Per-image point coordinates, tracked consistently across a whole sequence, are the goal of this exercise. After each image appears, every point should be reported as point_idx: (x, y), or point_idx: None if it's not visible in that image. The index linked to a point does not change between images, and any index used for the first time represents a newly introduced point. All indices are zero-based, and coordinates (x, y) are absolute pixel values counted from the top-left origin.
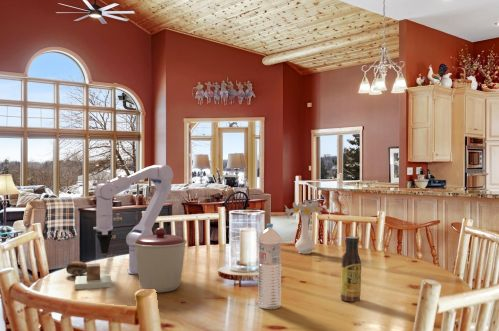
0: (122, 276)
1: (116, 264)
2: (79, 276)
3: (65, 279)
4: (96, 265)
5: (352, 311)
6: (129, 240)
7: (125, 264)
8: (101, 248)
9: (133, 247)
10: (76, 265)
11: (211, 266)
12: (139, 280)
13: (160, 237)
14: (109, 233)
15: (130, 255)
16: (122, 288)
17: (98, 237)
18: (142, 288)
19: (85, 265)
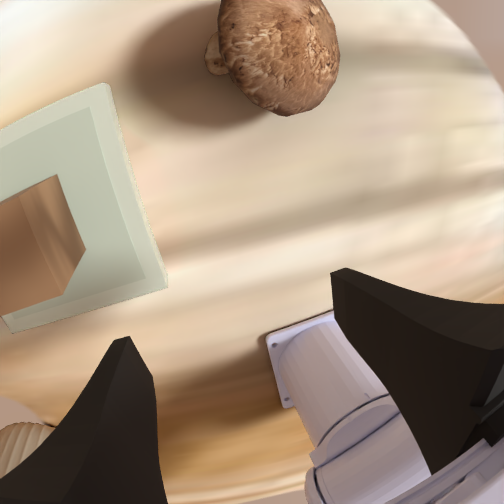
0: (227, 316)
1: (465, 216)
2: (100, 106)
3: (171, 5)
4: None
5: None
6: (405, 443)
7: (455, 254)
8: (95, 378)
9: (352, 439)
10: (219, 37)
11: None
12: (8, 437)
13: None
14: (430, 450)
15: (332, 393)
16: (16, 363)
17: (4, 489)
18: (12, 424)
19: (261, 99)
